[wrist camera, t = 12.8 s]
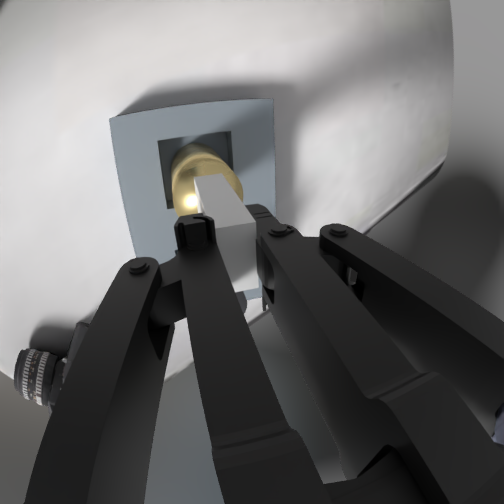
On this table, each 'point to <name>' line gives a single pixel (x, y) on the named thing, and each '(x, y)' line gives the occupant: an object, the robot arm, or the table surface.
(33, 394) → the camera
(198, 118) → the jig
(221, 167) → the brass cylinder
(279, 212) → the table surface
